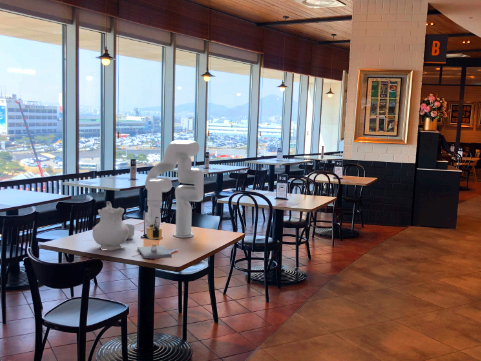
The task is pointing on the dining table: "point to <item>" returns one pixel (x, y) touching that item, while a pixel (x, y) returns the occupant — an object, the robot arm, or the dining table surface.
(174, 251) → the dining table surface
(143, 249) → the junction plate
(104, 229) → the ceramic pitcher
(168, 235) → the dining table surface
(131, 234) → the teacup
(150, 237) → the yellow rounded block
